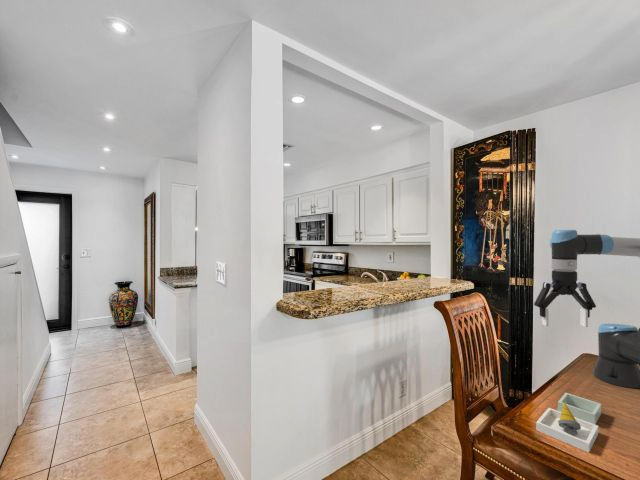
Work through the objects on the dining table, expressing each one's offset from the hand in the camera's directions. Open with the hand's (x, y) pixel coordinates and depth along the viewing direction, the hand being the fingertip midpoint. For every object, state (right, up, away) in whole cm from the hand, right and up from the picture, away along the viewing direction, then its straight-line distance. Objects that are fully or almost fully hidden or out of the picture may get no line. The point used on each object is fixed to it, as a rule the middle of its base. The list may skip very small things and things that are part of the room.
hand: (564, 325), depth 114 cm
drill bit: (-16, -27, -21) cm, 38 cm away
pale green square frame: (-4, -27, -11) cm, 29 cm away
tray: (-16, -27, -21) cm, 38 cm away
